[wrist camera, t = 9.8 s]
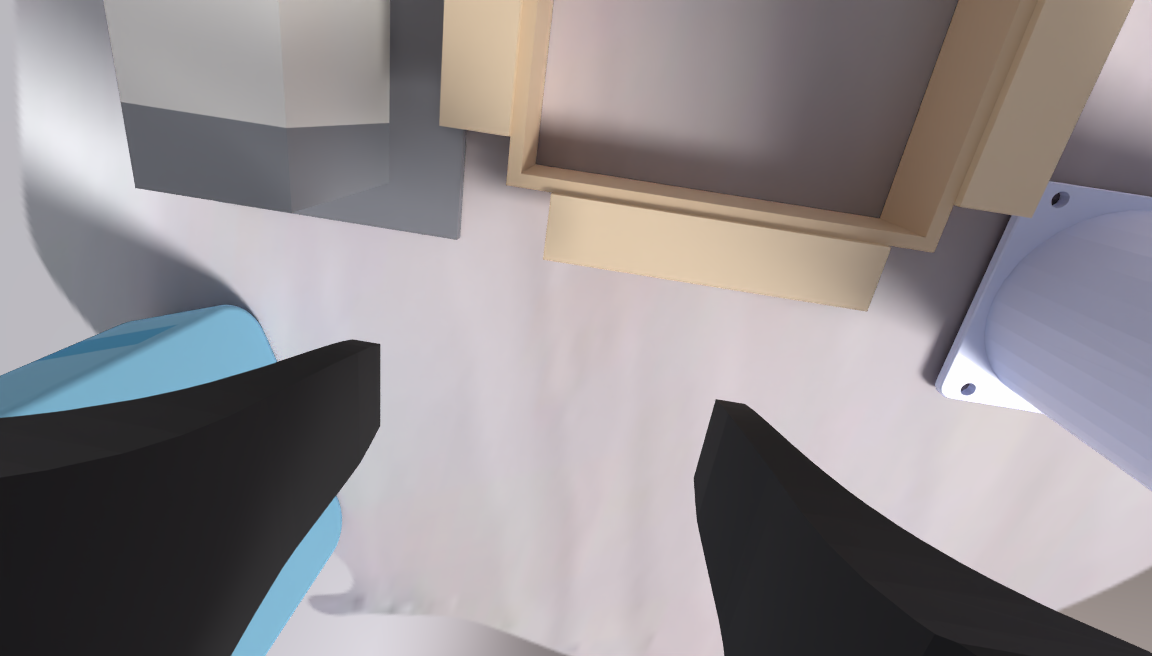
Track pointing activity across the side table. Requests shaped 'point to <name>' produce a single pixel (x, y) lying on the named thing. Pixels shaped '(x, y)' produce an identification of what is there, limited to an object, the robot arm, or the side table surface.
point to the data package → (164, 364)
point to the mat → (412, 137)
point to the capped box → (254, 97)
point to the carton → (784, 231)
